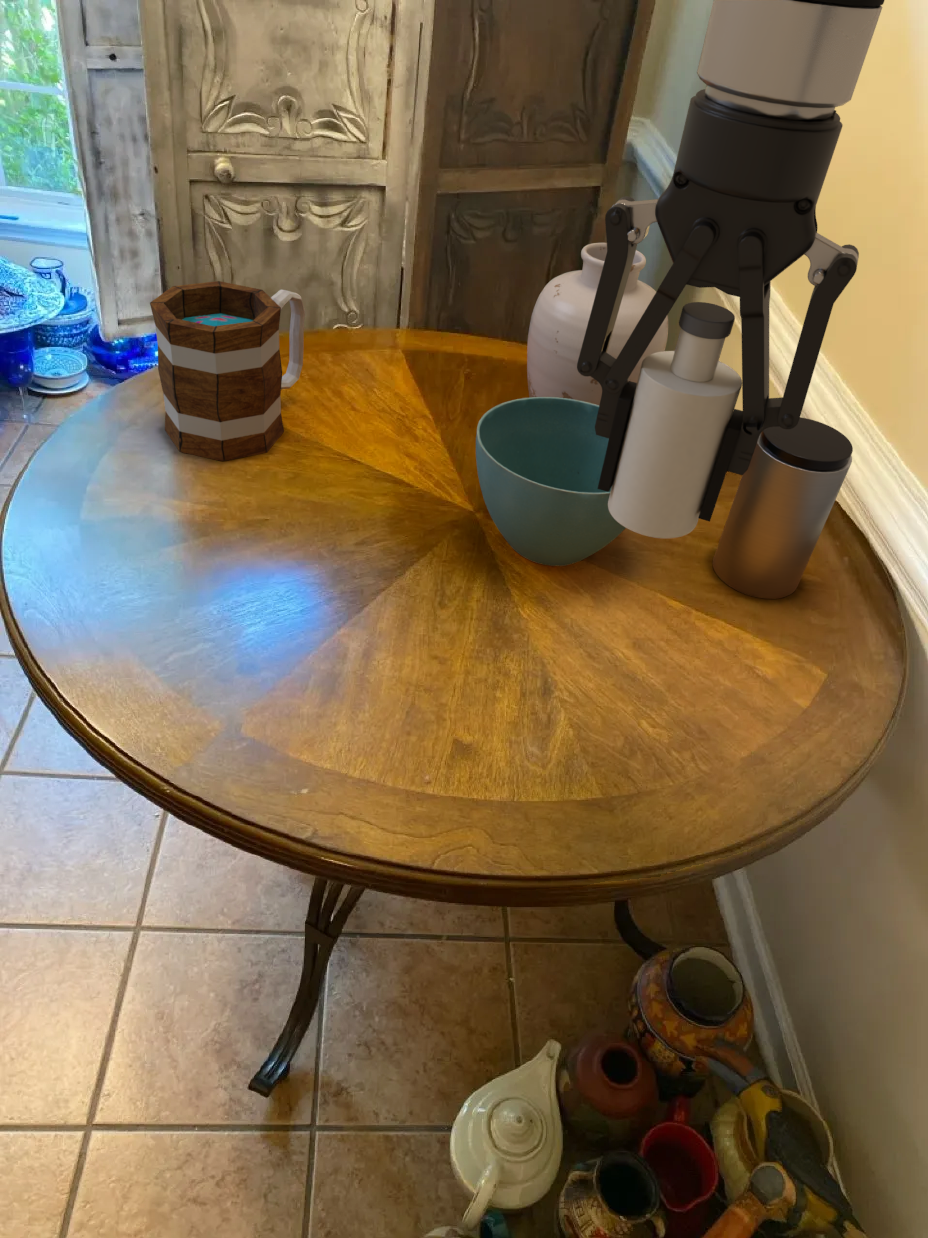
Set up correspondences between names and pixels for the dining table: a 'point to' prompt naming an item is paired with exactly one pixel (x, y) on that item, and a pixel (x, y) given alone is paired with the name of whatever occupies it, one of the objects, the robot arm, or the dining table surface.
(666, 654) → the dining table surface
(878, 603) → the dining table surface
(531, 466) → the plant pot
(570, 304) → the vase
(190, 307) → the mug
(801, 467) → the metal canister
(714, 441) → the bottle
